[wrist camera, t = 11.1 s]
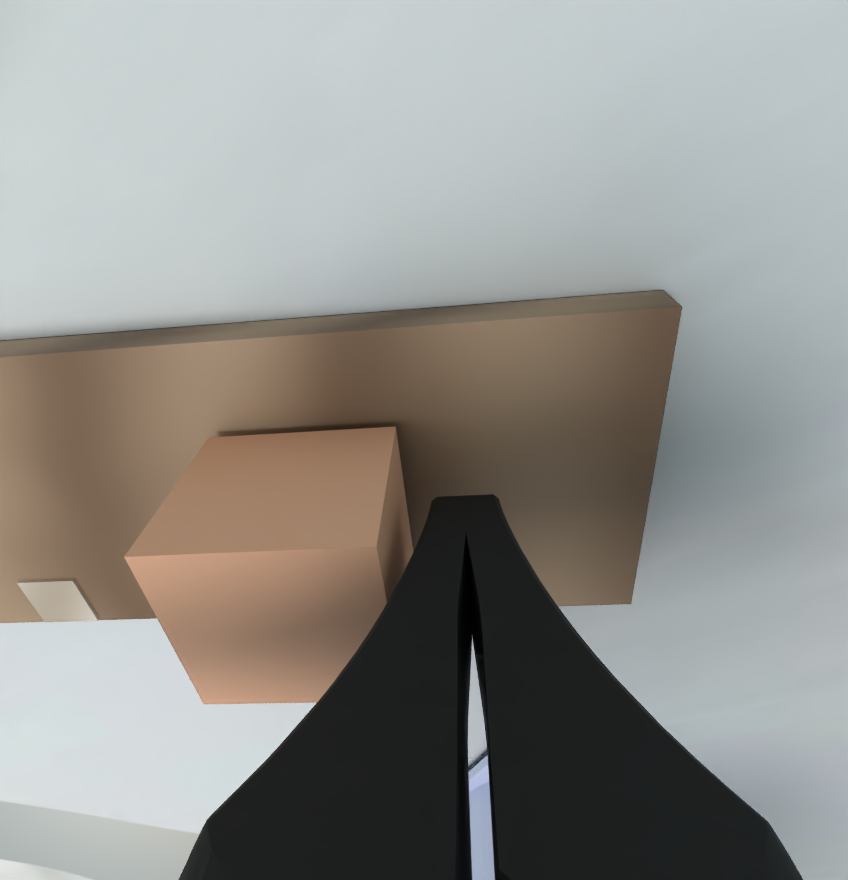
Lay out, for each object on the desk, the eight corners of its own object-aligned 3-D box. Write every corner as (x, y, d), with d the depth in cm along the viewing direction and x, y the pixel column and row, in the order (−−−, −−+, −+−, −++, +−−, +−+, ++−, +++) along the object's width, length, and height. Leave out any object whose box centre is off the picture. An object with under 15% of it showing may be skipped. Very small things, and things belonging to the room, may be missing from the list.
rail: (662, 289, 11) (684, 308, 10) (620, 575, 15) (632, 607, 14) (-429, 373, 13) (-498, 396, 12) (-190, 603, 17) (-227, 632, 16)
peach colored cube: (396, 426, 11) (376, 546, 8) (415, 565, 13) (405, 700, 10) (208, 437, 11) (123, 556, 8) (257, 571, 13) (203, 704, 10)
